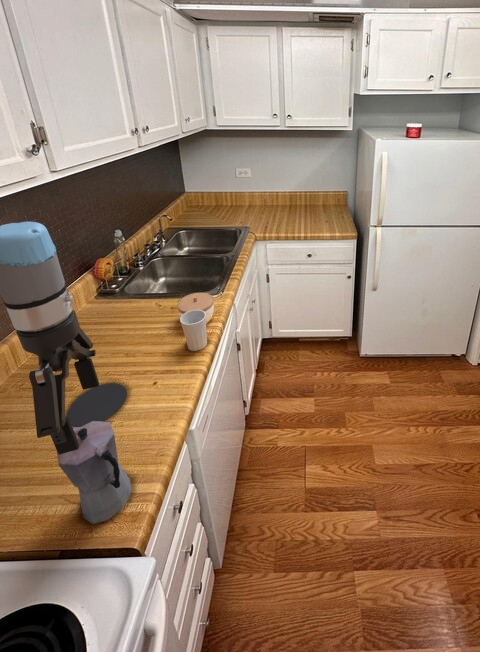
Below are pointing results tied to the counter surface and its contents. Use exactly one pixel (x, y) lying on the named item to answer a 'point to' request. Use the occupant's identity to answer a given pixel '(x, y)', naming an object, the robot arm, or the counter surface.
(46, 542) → the counter surface
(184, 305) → the lidded bowl
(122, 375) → the counter surface
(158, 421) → the counter surface
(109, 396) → the trivet
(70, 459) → the moka pot
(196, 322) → the cup
